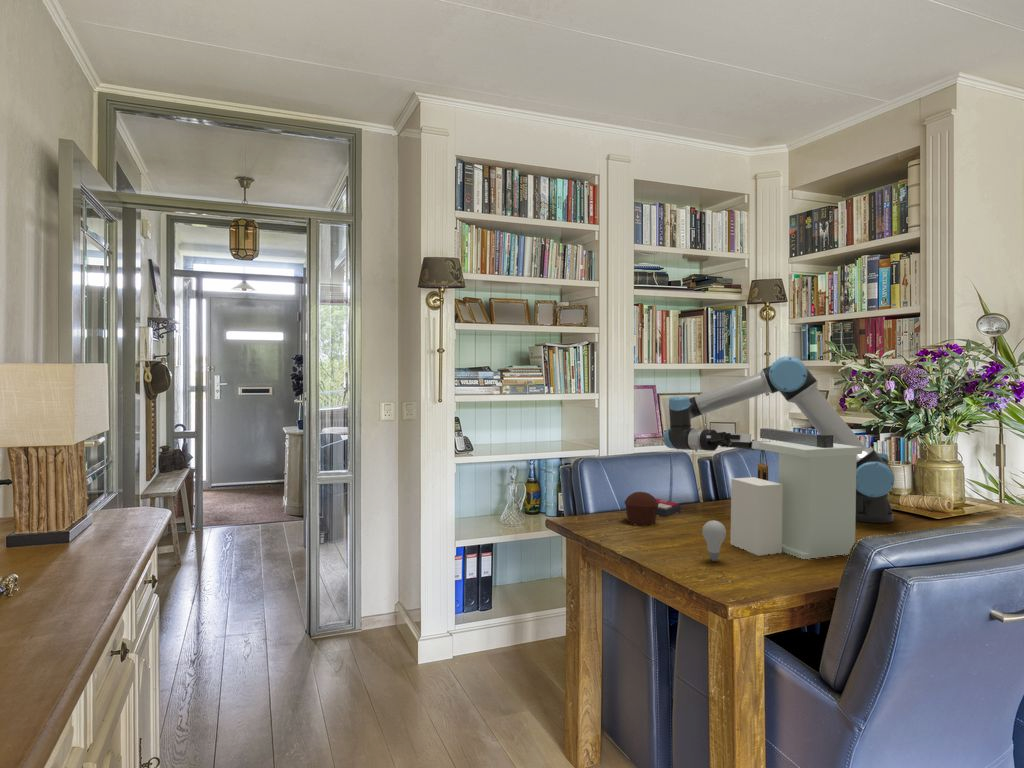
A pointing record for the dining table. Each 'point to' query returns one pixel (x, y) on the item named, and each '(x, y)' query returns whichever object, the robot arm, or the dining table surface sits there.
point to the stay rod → (797, 437)
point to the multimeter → (763, 468)
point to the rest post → (756, 515)
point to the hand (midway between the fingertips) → (760, 441)
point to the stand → (817, 498)
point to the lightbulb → (714, 538)
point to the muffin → (641, 508)
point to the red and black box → (667, 508)
